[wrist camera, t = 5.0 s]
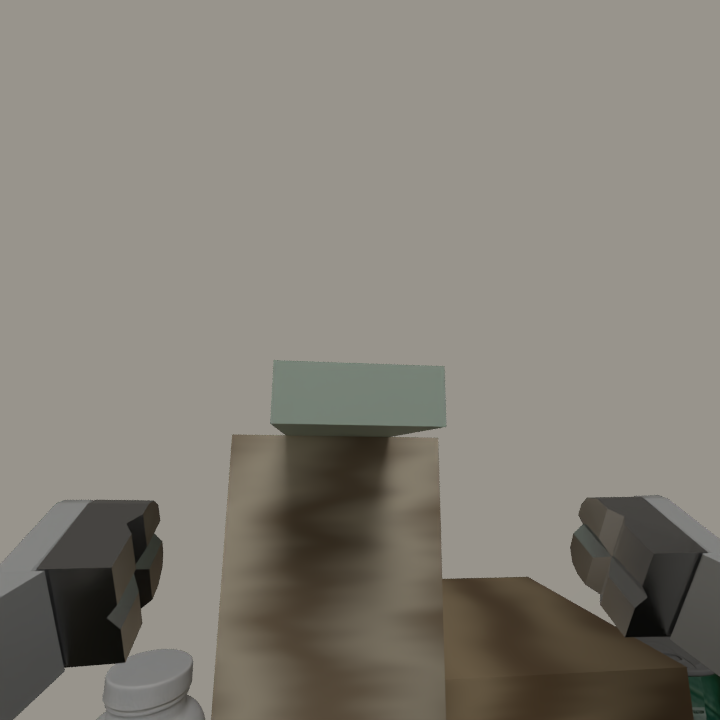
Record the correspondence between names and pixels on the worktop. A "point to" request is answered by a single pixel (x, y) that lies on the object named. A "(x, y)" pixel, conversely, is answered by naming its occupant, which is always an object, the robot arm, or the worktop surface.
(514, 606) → the brown wooden block
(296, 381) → the pale green bar
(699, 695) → the canned tomato
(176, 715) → the supplement bottle
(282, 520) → the birch box
